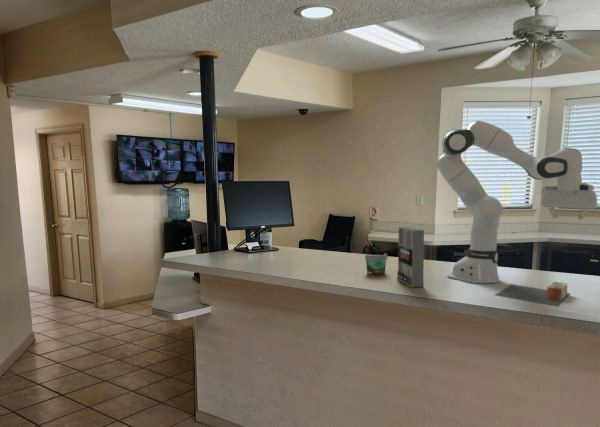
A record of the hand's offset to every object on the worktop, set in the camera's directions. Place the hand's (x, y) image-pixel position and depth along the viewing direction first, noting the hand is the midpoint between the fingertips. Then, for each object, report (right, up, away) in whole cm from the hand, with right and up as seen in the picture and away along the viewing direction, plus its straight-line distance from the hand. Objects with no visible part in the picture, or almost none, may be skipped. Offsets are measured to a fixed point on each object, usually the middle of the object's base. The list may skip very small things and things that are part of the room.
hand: (567, 218), depth 176 cm
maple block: (-11, -28, -13) cm, 33 cm away
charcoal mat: (-23, -31, -13) cm, 40 cm away
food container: (-77, -28, +26) cm, 86 cm away
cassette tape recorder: (-66, -30, +8) cm, 73 cm away
